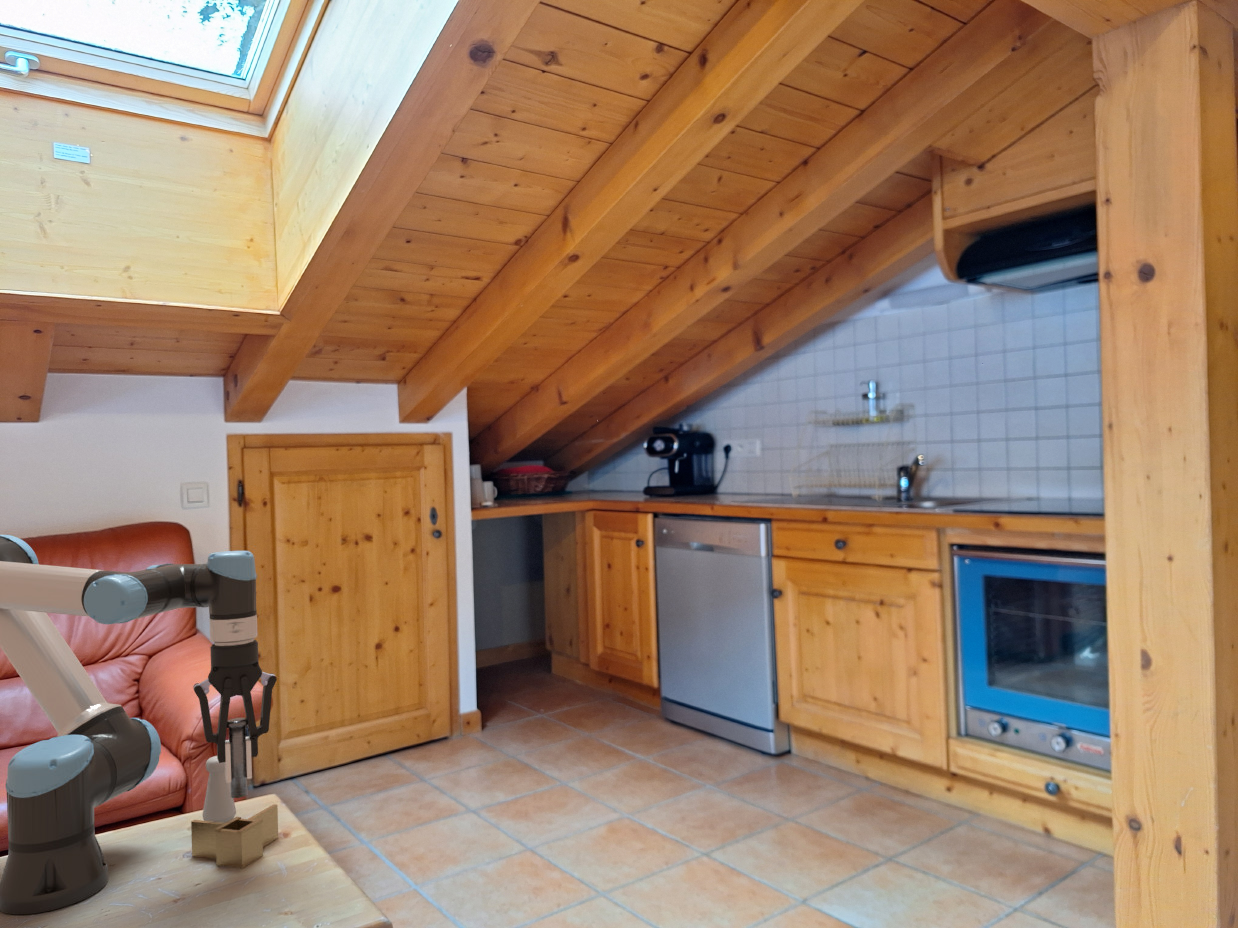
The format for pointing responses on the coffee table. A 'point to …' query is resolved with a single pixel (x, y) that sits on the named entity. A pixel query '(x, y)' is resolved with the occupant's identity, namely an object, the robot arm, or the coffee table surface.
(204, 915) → the coffee table surface
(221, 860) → the hinge
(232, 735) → the hinge pin
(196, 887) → the coffee table surface
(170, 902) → the coffee table surface
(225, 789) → the salt shaker
